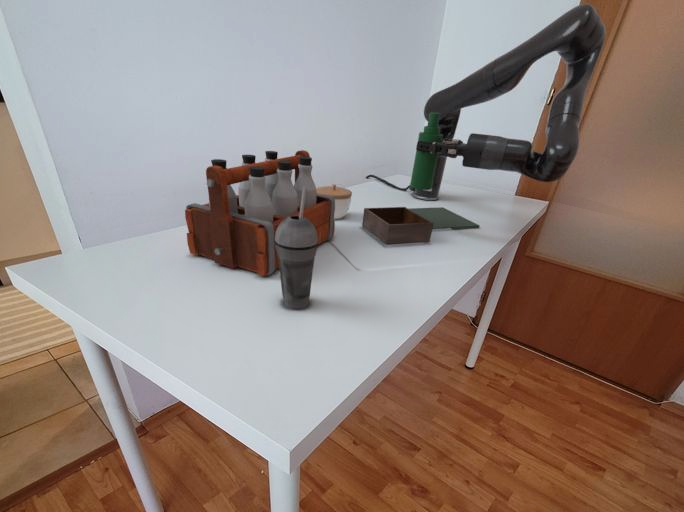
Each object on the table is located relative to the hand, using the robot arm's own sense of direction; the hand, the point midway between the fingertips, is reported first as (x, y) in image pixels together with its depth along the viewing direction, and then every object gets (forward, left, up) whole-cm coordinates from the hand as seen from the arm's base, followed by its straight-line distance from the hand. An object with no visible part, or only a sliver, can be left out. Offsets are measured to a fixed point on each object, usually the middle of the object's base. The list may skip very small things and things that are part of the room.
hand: (419, 144), depth 96 cm
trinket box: (-11, -19, -22) cm, 31 cm away
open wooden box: (+7, -7, -22) cm, 24 cm away
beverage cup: (+38, -44, -22) cm, 62 cm away
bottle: (+2, +2, -10) cm, 11 cm away
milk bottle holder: (+9, -43, -22) cm, 49 cm away
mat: (-5, +15, -22) cm, 27 cm away
